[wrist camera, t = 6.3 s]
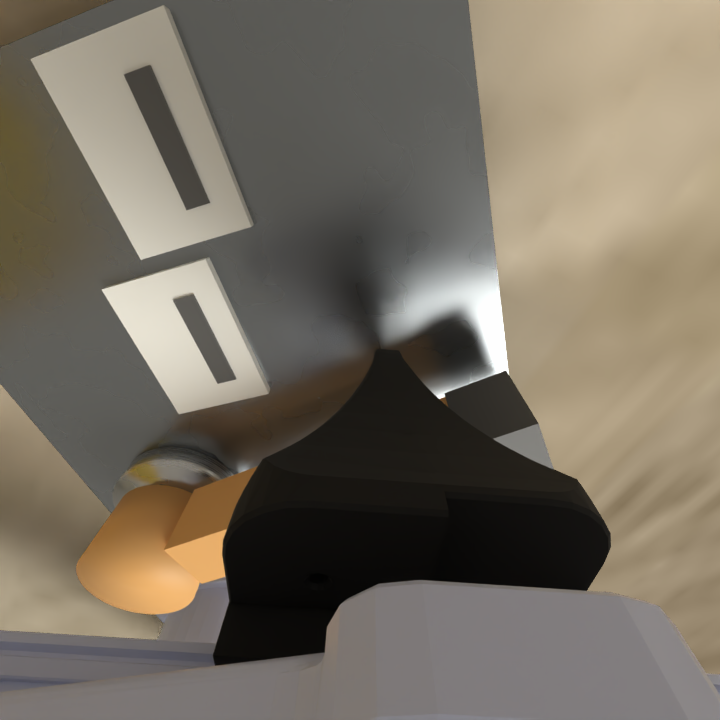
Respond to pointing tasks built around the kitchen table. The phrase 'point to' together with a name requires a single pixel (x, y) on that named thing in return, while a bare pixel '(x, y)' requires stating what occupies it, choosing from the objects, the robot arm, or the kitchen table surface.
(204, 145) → the label
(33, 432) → the kitchen table surface
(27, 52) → the panel
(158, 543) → the bar
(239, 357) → the label
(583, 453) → the kitchen table surface
